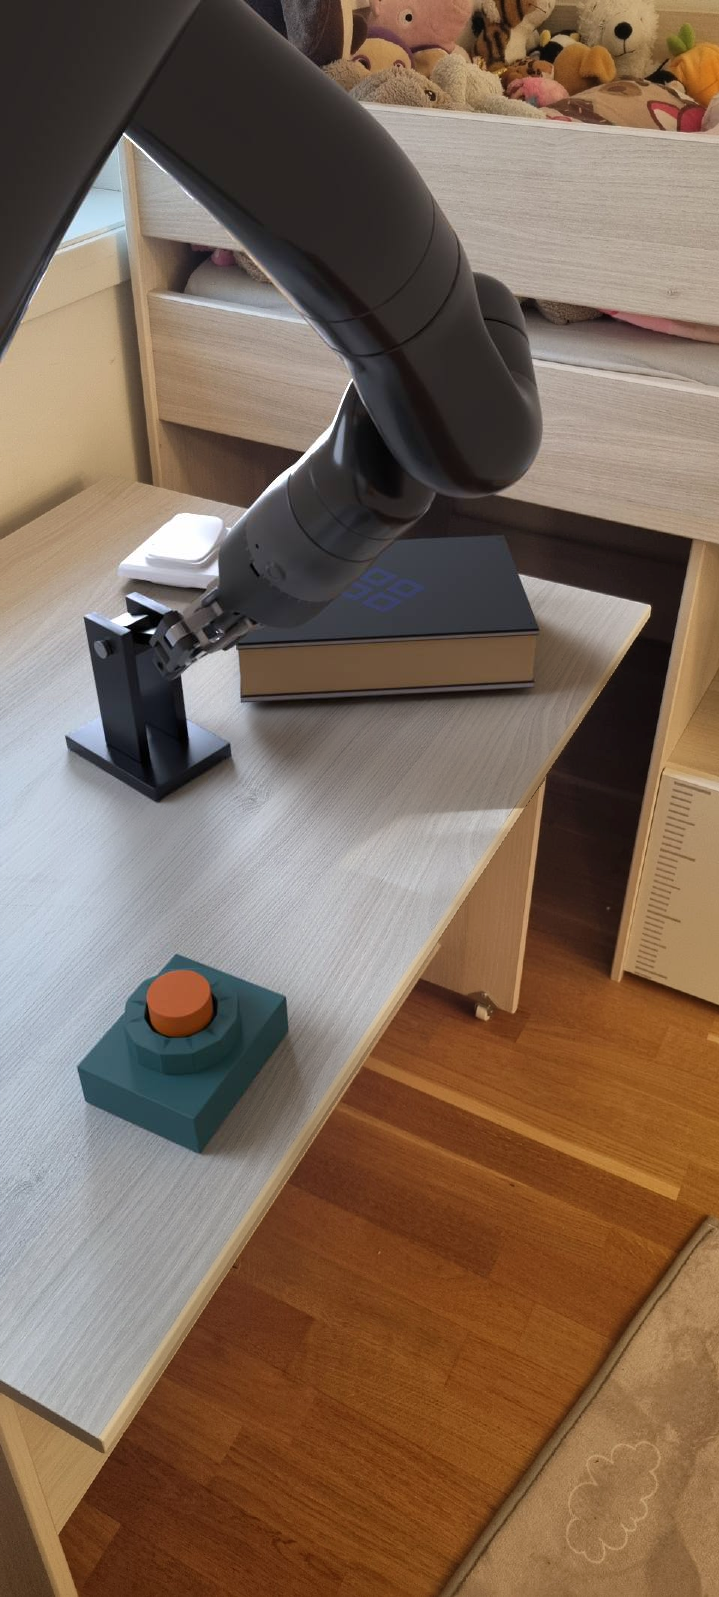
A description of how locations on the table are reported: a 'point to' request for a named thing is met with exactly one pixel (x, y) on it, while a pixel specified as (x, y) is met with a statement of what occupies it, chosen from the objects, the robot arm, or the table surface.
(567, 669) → the table surface
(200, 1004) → the power button
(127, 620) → the switch lever
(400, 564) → the book
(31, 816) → the table surface
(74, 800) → the table surface
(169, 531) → the light switch
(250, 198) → the robot arm
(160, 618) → the black pivot stand
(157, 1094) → the orange push button box
